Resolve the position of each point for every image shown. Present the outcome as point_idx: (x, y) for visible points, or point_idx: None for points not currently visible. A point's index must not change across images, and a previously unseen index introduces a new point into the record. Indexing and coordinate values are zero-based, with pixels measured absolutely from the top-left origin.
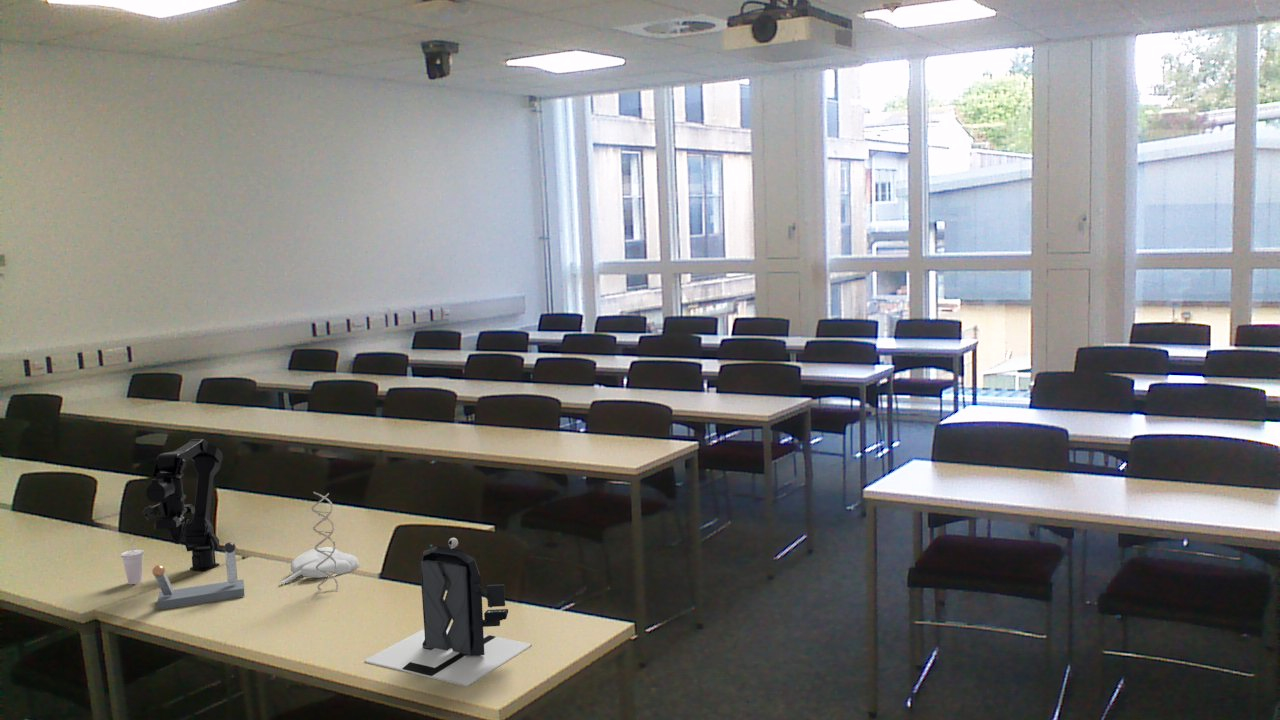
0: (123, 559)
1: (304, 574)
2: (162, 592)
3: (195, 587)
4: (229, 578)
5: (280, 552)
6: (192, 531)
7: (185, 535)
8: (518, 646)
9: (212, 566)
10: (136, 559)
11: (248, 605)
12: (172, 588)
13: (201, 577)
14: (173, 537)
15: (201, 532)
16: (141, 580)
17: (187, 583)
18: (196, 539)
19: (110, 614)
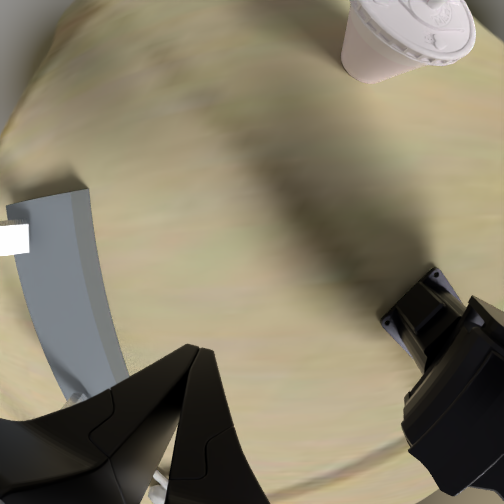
0: None
1: (153, 487)
2: (10, 221)
3: (84, 312)
4: (67, 403)
5: (408, 459)
6: (480, 410)
7: (487, 359)
8: None
9: (401, 345)
10: (363, 24)
11: (38, 384)
12: (17, 253)
13: (307, 315)
14: (136, 380)
15: (434, 447)
16: (363, 80)
17: (250, 268)
18: (436, 396)
19: (41, 72)
